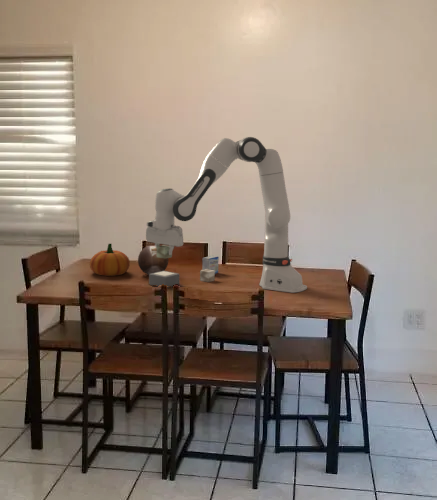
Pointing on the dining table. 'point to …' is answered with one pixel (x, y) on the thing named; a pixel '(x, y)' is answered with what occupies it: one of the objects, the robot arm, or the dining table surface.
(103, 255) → the pumpkin
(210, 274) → the off-white block
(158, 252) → the sage block
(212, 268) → the medicine box
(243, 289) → the dining table surface
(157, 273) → the base block
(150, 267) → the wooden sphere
